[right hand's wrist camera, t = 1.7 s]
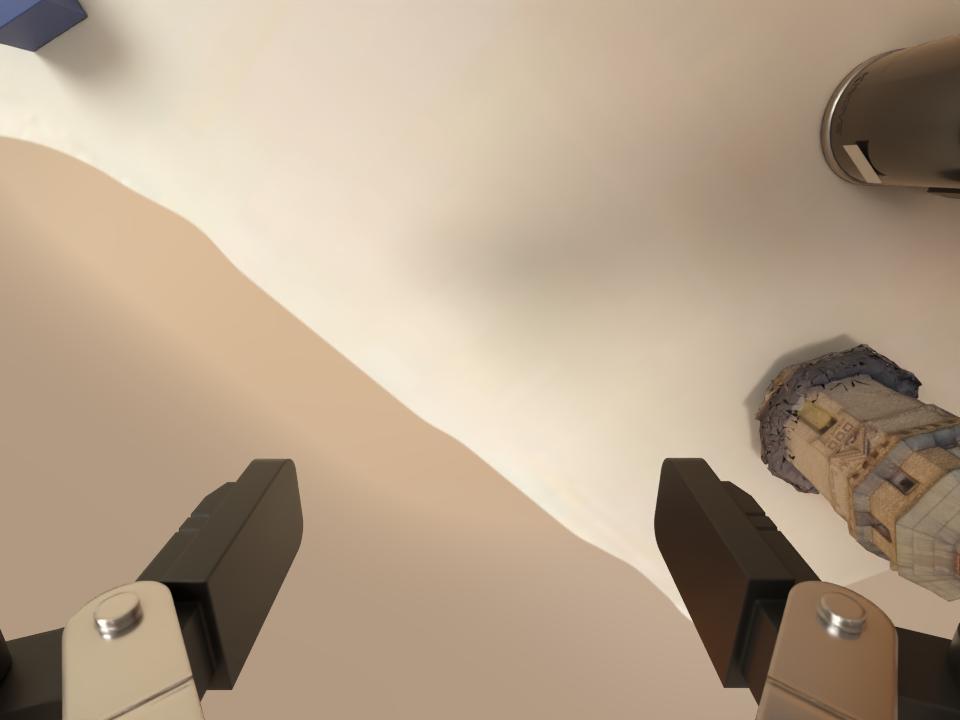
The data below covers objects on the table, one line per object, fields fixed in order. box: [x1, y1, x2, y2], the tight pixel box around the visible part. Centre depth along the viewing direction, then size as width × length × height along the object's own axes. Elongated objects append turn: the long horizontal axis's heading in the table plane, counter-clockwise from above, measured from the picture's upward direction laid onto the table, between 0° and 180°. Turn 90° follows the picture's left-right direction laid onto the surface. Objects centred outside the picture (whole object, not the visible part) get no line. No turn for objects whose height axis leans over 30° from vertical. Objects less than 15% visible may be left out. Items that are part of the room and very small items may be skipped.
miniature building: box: [756, 344, 960, 601], centre depth 34 cm, size 13×14×30 cm
